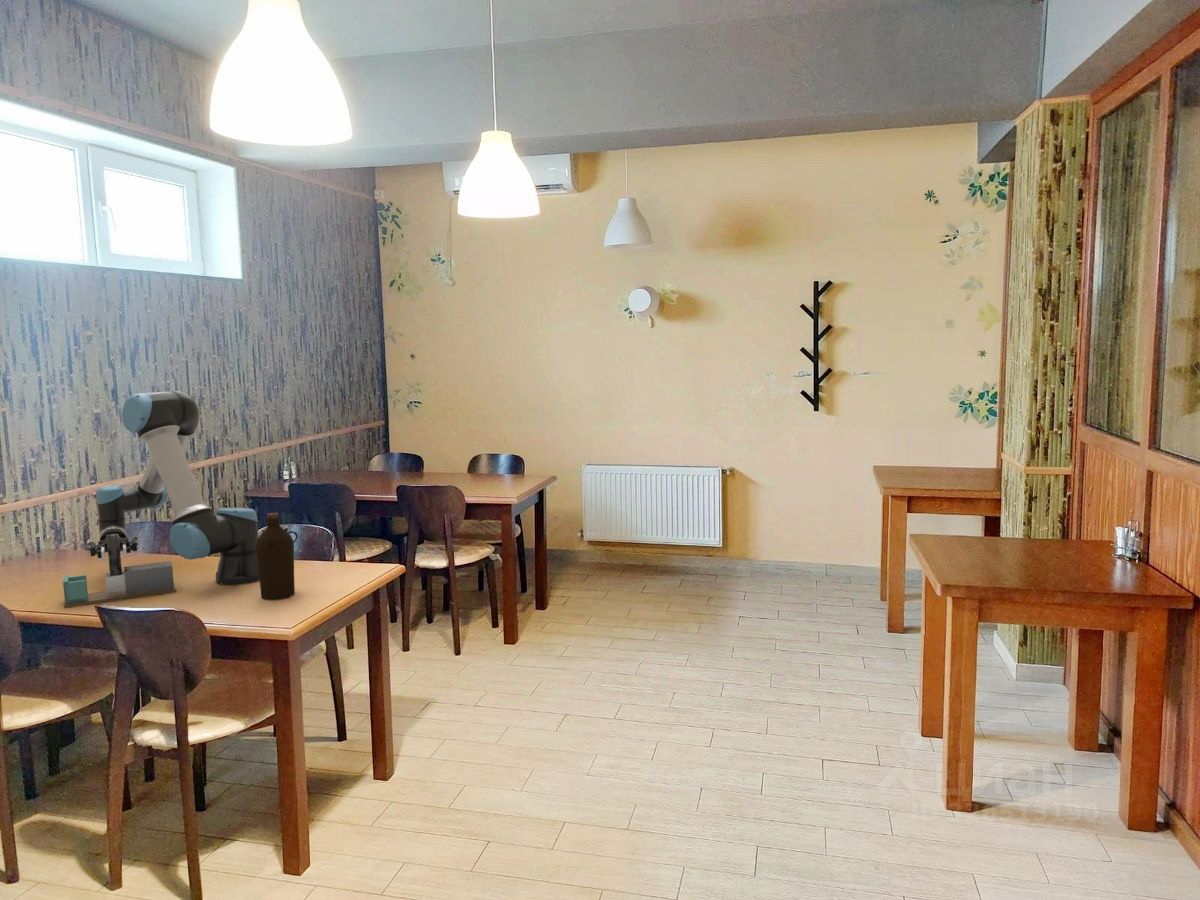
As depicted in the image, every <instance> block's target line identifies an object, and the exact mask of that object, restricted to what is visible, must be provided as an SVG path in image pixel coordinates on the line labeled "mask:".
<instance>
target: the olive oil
mask: <svg viewBox="0 0 1200 900" xmlns="http://www.w3.org/2000/svg"><path fill="white" fill-rule="evenodd" d="M266 516H267V518H266V524H267V526H266V527H267V528H266V529H265V530H264V531H263V533H262V532H261V533H260V535H258V539H257V542H256V555H257V563H258V571H259V579H260V580H259V587H260V596H261V598H262V599H263V600H266V601H267V600H268V601H277V600H283V599H287V598H291V597H292V596H294V595H295V594H296V592H295V542H293V541H294V540H293V538H292V537H293V536H292V535H291V533H288V532H289V531H287V532H286V531H285V530H284V529H283V528H282V527H281V526H282V525H280V517H279V513H278V512H270V513H266ZM290 596H291V597H290Z"/></svg>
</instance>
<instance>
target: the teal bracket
mask: <svg viewBox="0 0 1200 900" xmlns="http://www.w3.org/2000/svg"><path fill="white" fill-rule="evenodd" d="M87 582H88V581H87V574H83V575H74V576H70V575H69V574H68V575H63V581H62V583H63V584H62V585H63V593H64V595H63V596H64V600H65V604H66V603H73V602H80V601H87V598H88V593H89V592H88V583H87Z"/></svg>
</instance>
